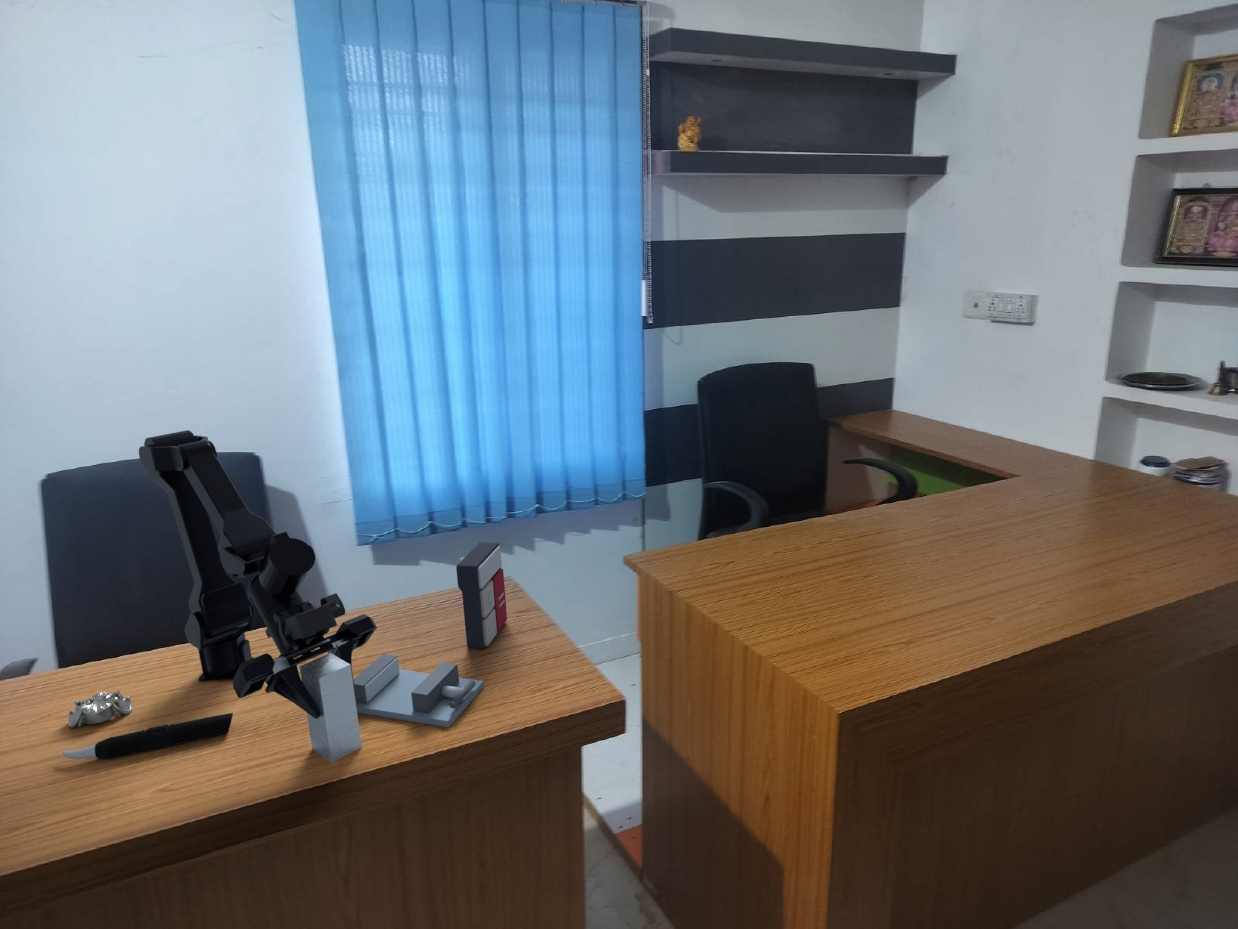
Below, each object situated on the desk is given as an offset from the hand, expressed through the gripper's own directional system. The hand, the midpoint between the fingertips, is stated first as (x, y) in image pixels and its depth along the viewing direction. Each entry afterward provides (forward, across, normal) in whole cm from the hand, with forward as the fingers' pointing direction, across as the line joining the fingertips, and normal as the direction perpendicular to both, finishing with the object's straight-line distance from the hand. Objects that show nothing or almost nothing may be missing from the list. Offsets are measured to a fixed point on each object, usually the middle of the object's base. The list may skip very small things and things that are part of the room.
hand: (336, 708), depth 109 cm
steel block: (+4, 0, +6) cm, 7 cm away
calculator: (-3, +34, +12) cm, 36 cm away
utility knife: (-11, -16, +21) cm, 28 cm away
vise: (+2, +14, +7) cm, 16 cm away
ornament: (-21, -18, +31) cm, 41 cm away
